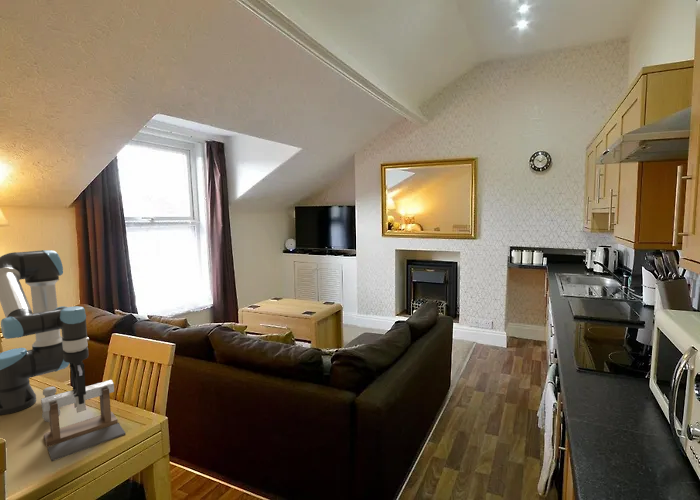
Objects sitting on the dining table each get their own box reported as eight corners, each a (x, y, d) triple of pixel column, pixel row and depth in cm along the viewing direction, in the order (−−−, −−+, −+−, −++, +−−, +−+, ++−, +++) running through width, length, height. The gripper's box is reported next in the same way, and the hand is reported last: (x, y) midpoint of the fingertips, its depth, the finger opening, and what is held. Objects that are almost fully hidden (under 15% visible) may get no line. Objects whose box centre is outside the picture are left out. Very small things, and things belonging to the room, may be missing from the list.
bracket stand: (43, 437, 143) (40, 399, 141) (112, 415, 158) (109, 380, 156) (47, 447, 137) (43, 408, 135) (117, 422, 152) (115, 387, 150)
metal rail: (41, 407, 140) (40, 398, 139) (111, 388, 155) (110, 379, 155) (43, 412, 137) (42, 402, 137) (114, 391, 152) (113, 383, 152)
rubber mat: (47, 448, 136) (47, 447, 136) (118, 424, 151) (118, 423, 151) (51, 461, 129) (51, 459, 129) (125, 434, 145) (125, 432, 145)
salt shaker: (50, 424, 151) (48, 392, 150) (38, 422, 152) (35, 390, 151) (64, 416, 157) (62, 385, 155) (52, 414, 158) (50, 384, 156)
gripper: (93, 352, 140) (97, 413, 143) (82, 340, 152) (86, 397, 155) (67, 358, 135) (72, 421, 138) (59, 345, 147) (63, 403, 150)
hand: (80, 408), depth 147 cm, fingers closed on metal rail, 4 cm apart
